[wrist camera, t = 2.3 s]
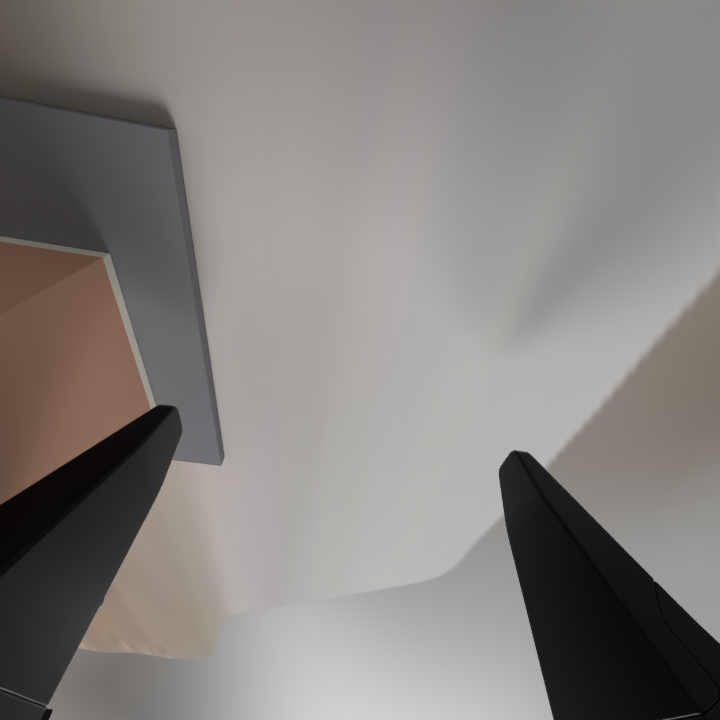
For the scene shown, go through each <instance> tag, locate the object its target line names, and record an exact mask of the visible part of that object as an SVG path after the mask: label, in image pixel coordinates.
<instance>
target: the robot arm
mask: <svg viewBox="0 0 720 720" xmlns="http://www.w3.org/2000/svg"><path fill="white" fill-rule="evenodd" d="M181 435H182V423H181V419H180V415H179V411H178V408H177V407H176V406H171V405H163V404H161V405H157V406H155V407H154V408H152V409H151V410H149V411H148V412H146V413H144V414H143V415H141V416H140V417H138V418H136V419H135V420H133V421H132V422H130V423H129V424H127V425H125V426H124V427H122V428H121V429H119V430H117V431H116V432H114V433H113V434H111V435H110V436H108V437H106V438H105V439H103V440H102V441H100V442H99V443H97V444H95V445H94V446H92V447H91V448H89V449H87V450H86V451H84V452H83V453H81V454H80V455H78V456H76V457H75V458H73V459H72V460H70V461H69V462H67V463H65V464H64V465H62V466H61V467H59V468H57V469H56V470H54V471H53V472H51V473H50V474H48V475H46V476H45V477H43V478H42V479H40V480H39V481H37V482H35V483H34V484H32V485H31V486H29V487H27V488H26V489H24V490H23V491H21V492H20V493H18V494H16V495H15V496H13V497H12V498H10V499H9V500H7V501H5V502H4V503H2V504H1V505H0V720H49V718H50V716H51V713H52V709H47V708H46V706H47V705H48V704H49V702H50V700H51V698H52V696H53V694H54V692H55V690H56V688H57V686H58V684H59V682H60V681H61V679H62V677H63V675H64V673H65V671H66V669H67V667H68V665H69V663H70V661H71V660H72V658H73V656H74V654H75V652H76V650H77V648H78V646H79V644H80V642H81V641H82V639H83V637H84V635H85V633H86V631H87V629H88V627H89V625H90V623H91V621H92V620H93V618H94V616H95V614H96V612H97V610H98V608H99V606H101V605H102V603H103V601H104V597H105V595H106V593H107V591H108V589H109V587H110V585H111V583H112V581H113V579H114V578H115V576H116V574H117V572H118V570H119V568H120V566H121V564H122V562H123V560H124V558H125V556H126V555H127V553H128V551H129V549H130V547H131V545H132V543H133V541H134V539H135V537H136V535H137V534H138V532H139V530H140V528H141V526H142V524H143V522H144V520H145V518H146V516H147V514H148V513H149V511H150V509H151V507H152V505H153V503H154V501H155V499H156V497H157V495H158V493H159V491H160V489H161V486H162V484H163V482H164V479H165V476H166V474H167V471H168V469H169V466H170V464H171V461H172V458H173V456H174V453H175V451H176V448H177V446H178V443H179V441H180V438H181ZM499 480H500V487H501V494H502V501H503V508H504V515H505V521H506V527H507V532H508V537H509V541H510V545H511V550H512V554H513V557H514V561H515V566H516V570H517V574H518V578H519V582H520V586H521V589H522V593H523V598H524V602H525V606H526V610H527V614H528V618H529V622H530V626H531V630H532V634H533V638H534V642H535V646H536V650H537V654H538V659H539V662H540V666H541V671H542V675H543V679H544V683H545V687H546V691H547V695H548V699H549V703H550V707H551V711H552V715H553V719H554V720H720V643H718V642H717V641H716V640H715V639H714V638H713V637H712V636H711V635H710V634H709V633H708V632H707V631H706V630H705V629H703V627H701V626H700V625H699V624H698V623H697V622H696V621H695V620H694V619H693V618H692V617H691V616H690V615H689V614H688V613H687V612H686V611H685V610H684V609H683V608H682V607H681V606H680V605H679V604H678V603H677V602H676V601H675V600H674V599H673V598H672V597H671V596H670V595H669V594H668V593H667V592H666V591H665V590H664V589H663V588H662V587H661V586H660V585H659V584H658V583H657V582H654V580H653V578H652V577H651V576H650V575H649V574H648V573H647V572H646V571H645V570H644V569H643V568H642V567H641V566H640V565H639V564H638V563H637V562H636V561H635V560H634V559H633V558H632V557H631V556H630V555H629V554H628V553H627V552H626V551H625V550H624V549H623V548H622V547H621V546H620V545H619V544H618V542H616V541H615V540H614V538H612V537H611V536H610V534H609V533H607V531H606V530H605V529H604V528H603V527H602V526H601V525H600V524H599V523H598V522H597V521H596V520H595V519H594V518H593V517H592V516H591V515H590V514H589V513H588V512H587V511H586V510H585V509H584V508H583V507H582V506H581V505H580V504H579V503H578V502H577V501H576V500H575V499H574V498H573V497H572V496H571V495H570V494H569V493H568V492H567V491H566V490H565V489H564V488H563V487H562V486H561V485H560V484H559V483H558V482H557V481H556V480H555V479H554V478H553V477H552V476H551V475H550V474H549V473H548V472H547V471H546V470H545V469H544V468H543V467H542V465H541V464H540V463H539V462H538V461H537V460H536V459H535V458H534V457H533V456H532V455H531V454H529V453H528V452H524V451H516V450H514V451H512V452H510V454H509V455H508V457H507V458H506V459H505V461H504V462H503V464H502V465H501V467H500V469H499Z"/></svg>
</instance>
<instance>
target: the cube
mask: <svg viewBox="0 0 720 720" xmlns="http://www.w3.org/2000/svg"><path fill="white" fill-rule="evenodd" d="M155 406H156V404H155V401H154V397H153V394H152V391H151V387H150V384H149V381H148V377H147V374H146V371H145V368H144V364H143V361H142V358H141V354H140V351H139V348H138V345H137V341H136V338H135V335H134V331H133V328H132V325H131V321H130V318H129V315H128V312H127V308H126V305H125V302H124V298H123V295H122V292H121V289H120V285H119V282H118V279H117V275H116V272H115V269H114V266H113V262H112V259H111V256H110V253H103V252H97V251H91V250H85V249H78V248H72V247H66V246H59V245H53V244H47V243H41V242H34V241H28V240H22V239H16V238H9V237H3V236H0V505H1V504H2V503H4V502H5V501H7V500H9V499H10V498H12V497H13V496H15V495H16V494H18V493H20V492H21V491H23V490H24V489H26V488H27V487H29V486H31V485H32V484H34V483H35V482H37V481H39V480H40V479H42V478H43V477H45V476H46V475H48V474H50V473H51V472H53V471H54V470H56V469H57V468H59V467H61V466H62V465H64V464H65V463H67V462H69V461H70V460H72V459H73V458H75V457H76V456H78V455H80V454H81V453H83V452H84V451H86V450H87V449H89V448H91V447H92V446H94V445H95V444H97V443H99V442H100V441H102V440H103V439H105V438H106V437H108V436H110V435H111V434H113V433H114V432H116V431H117V430H119V429H121V428H122V427H124V426H125V425H127V424H129V423H130V422H132V421H133V420H135V419H136V418H138V417H140V416H141V415H143V414H144V413H146V412H148V411H149V410H151V409H152V408H154V407H155Z"/></svg>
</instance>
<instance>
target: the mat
mask: <svg viewBox="0 0 720 720" xmlns="http://www.w3.org/2000/svg"><path fill="white" fill-rule="evenodd" d="M0 236H3V237H9V238H16V239H22V240H28V241H34V242H41V243H47V244H53V245H59V246H66V247H72V248H78V249H85V250H91V251H97V252H103V253H110V256H111V259H112V262H113V266H114V269H115V272H116V275H117V279H118V282H119V285H120V289H121V292H122V295H123V298H124V302H125V305H126V308H127V312H128V315H129V318H130V321H131V325H132V328H133V331H134V335H135V338H136V341H137V345H138V348H139V351H140V354H141V358H142V361H143V364H144V368H145V371H146V374H147V377H148V381H149V384H150V387H151V391H152V394H153V397H154V401H155V404H156V406H157V405H161V404H163V405H171V406H176V407H177V408H178V411H179V415H180V419H181V423H182V435H181V438H180V441H179V443H178V446H177V448H176V451H175V453H174V456H173V458H172V460H177V461H185V462H194V463H202V464H211V465H219V466H221V464H222V462H223V460H224V453H223V446H222V439H221V432H220V425H219V419H218V412H217V405H216V398H215V391H214V385H213V378H212V371H211V364H210V357H209V351H208V344H207V337H206V330H205V323H204V317H203V310H202V303H201V296H200V289H199V283H198V276H197V269H196V262H195V255H194V249H193V242H192V235H191V228H190V221H189V215H188V208H187V201H186V194H185V187H184V181H183V174H182V167H181V160H180V153H179V147H178V140H177V133H176V129H171V128H166V127H161V126H155V125H150V124H145V123H139V122H134V121H129V120H123V119H118V118H113V117H107V116H102V115H96V114H91V113H86V112H80V111H75V110H70V109H64V108H59V107H54V106H48V105H43V104H38V103H32V102H27V101H22V100H16V99H11V98H6V97H0Z"/></svg>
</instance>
